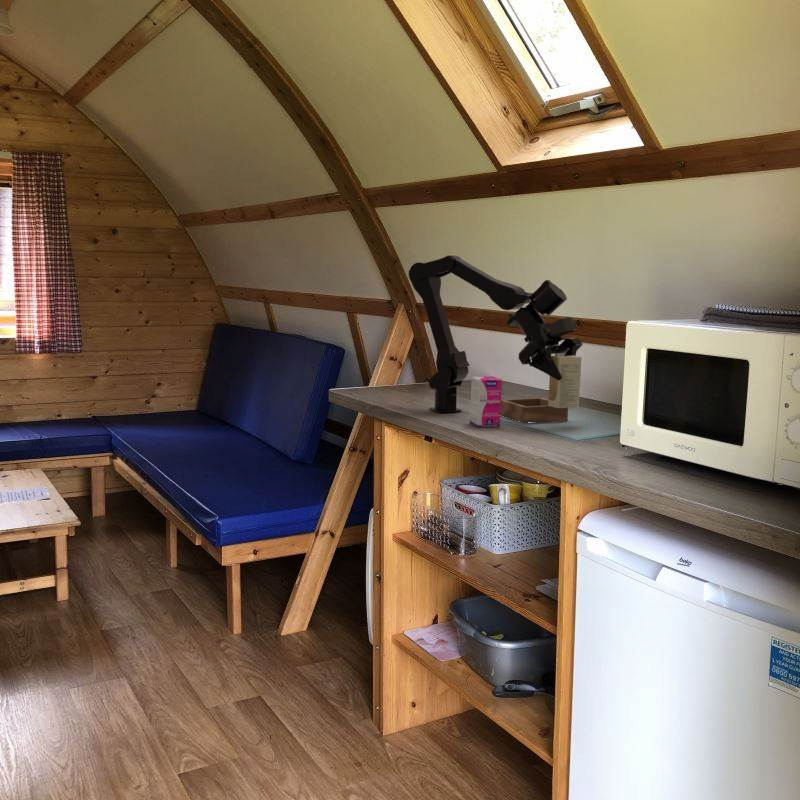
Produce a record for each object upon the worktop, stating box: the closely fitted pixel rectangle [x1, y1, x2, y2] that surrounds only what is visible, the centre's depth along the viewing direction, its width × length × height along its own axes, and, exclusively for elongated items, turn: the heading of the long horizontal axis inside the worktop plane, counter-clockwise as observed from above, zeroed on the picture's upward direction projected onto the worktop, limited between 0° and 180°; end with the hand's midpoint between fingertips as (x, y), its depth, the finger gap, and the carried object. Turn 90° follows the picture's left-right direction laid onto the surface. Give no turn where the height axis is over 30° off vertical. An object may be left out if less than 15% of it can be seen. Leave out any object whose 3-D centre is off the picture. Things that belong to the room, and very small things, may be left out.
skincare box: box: [548, 355, 582, 409], centre depth 210 cm, size 6×4×12 cm
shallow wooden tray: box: [500, 397, 569, 424], centre depth 222 cm, size 12×12×4 cm
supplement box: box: [469, 375, 503, 428], centre depth 211 cm, size 6×6×12 cm
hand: (569, 378), depth 209 cm, fingers closed on skincare box, 7 cm apart
